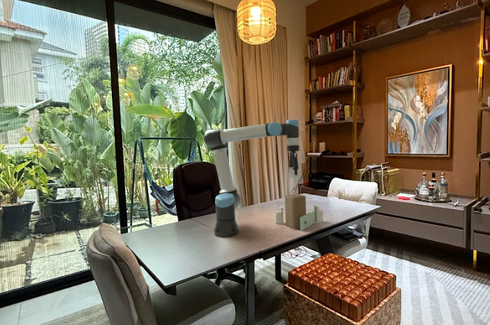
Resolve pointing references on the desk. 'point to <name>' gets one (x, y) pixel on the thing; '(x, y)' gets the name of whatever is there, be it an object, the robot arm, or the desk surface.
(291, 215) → the wooden block
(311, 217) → the door
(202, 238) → the desk surface
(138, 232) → the desk surface
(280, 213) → the l-shaped block
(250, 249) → the desk surface
